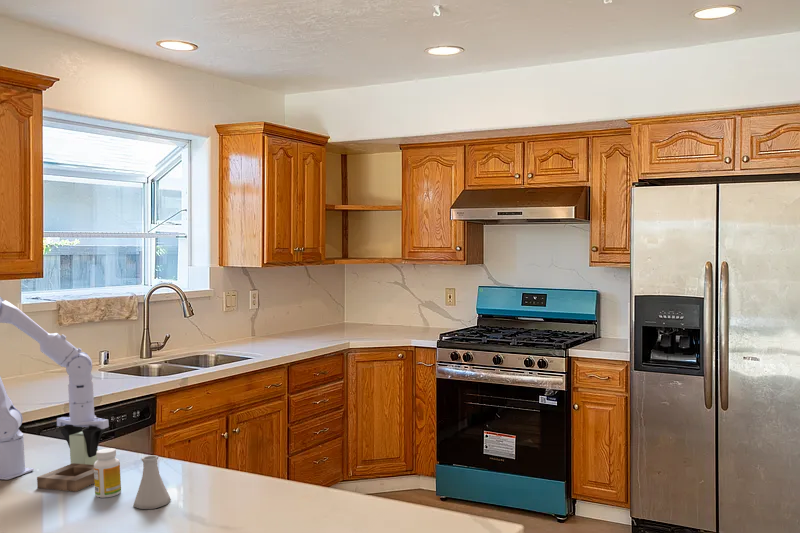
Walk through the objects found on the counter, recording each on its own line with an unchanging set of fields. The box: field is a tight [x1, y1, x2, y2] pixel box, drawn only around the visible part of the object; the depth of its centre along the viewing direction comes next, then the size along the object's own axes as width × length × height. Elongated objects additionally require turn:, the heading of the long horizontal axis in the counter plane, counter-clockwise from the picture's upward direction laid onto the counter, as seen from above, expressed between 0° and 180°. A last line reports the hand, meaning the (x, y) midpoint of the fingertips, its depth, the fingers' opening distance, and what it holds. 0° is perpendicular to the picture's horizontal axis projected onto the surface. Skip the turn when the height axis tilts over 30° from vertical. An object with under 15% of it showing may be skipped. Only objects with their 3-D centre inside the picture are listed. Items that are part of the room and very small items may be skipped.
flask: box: [132, 454, 172, 510], centre depth 160 cm, size 7×7×10 cm
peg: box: [69, 430, 99, 465], centre depth 191 cm, size 4×4×8 cm
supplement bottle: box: [94, 447, 122, 499], centre depth 168 cm, size 5×5×10 cm
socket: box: [36, 463, 95, 492], centre depth 177 cm, size 11×11×2 cm
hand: (84, 455), depth 191 cm, fingers closed on peg, 4 cm apart
